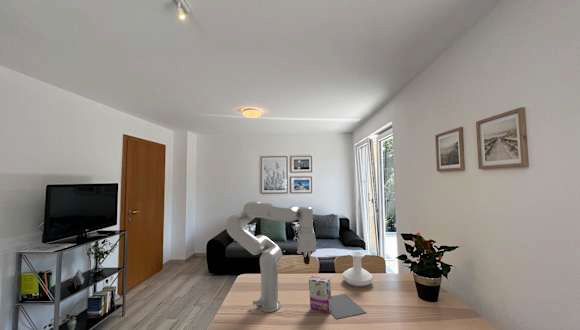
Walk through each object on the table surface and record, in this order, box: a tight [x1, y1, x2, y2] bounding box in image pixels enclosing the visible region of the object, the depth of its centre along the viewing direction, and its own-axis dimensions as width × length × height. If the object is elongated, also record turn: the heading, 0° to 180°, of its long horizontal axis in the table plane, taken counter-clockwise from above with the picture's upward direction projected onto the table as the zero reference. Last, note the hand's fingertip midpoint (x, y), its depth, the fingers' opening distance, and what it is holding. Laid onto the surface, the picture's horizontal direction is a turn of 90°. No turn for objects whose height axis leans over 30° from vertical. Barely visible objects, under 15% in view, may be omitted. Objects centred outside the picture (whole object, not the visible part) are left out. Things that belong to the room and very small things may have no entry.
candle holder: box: [342, 251, 373, 287], centre depth 169 cm, size 20×20×19 cm
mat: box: [329, 293, 367, 320], centre depth 139 cm, size 18×22×1 cm
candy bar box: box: [308, 276, 332, 314], centre depth 135 cm, size 11×5×16 cm, turn 62°
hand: (306, 263), depth 133 cm, fingers closed
